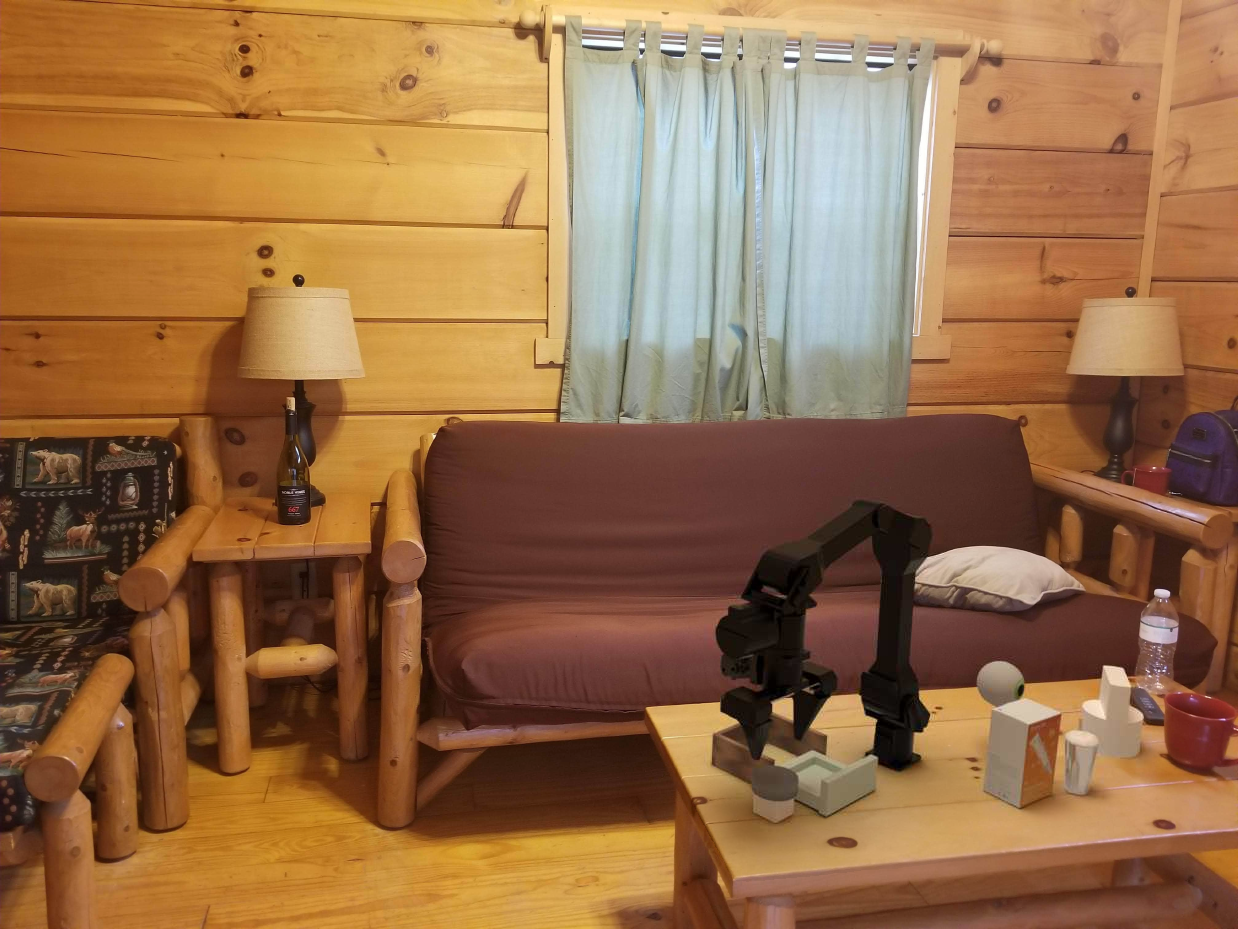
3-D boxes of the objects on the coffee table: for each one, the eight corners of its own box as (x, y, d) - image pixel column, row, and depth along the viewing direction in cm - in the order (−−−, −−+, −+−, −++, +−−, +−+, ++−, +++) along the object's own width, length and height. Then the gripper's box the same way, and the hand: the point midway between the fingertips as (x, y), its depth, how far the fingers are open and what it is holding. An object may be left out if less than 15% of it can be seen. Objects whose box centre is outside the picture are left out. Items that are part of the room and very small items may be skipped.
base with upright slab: (1143, 762, 157) (1152, 690, 155) (1081, 752, 160) (1089, 682, 158) (1134, 738, 166) (1143, 670, 163) (1075, 729, 168) (1083, 662, 166)
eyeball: (1003, 766, 155) (1012, 674, 152) (962, 749, 160) (970, 661, 157) (1025, 752, 159) (1035, 664, 157) (984, 737, 165) (992, 651, 162)
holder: (711, 764, 153) (712, 733, 152) (767, 739, 162) (769, 710, 161) (769, 793, 145) (771, 761, 144) (825, 765, 153) (827, 735, 152)
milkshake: (1090, 783, 150) (1097, 721, 148) (1094, 800, 145) (1102, 736, 143) (1057, 778, 151) (1064, 716, 150) (1060, 794, 146) (1067, 730, 145)
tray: (763, 785, 146) (765, 753, 145) (813, 761, 154) (815, 731, 153) (826, 816, 138) (828, 783, 137) (875, 789, 146) (878, 757, 145)
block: (771, 802, 142) (772, 779, 141) (793, 813, 139) (794, 790, 138) (752, 811, 139) (754, 788, 139) (775, 823, 136) (776, 800, 136)
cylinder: (771, 774, 143) (772, 761, 143) (807, 791, 138) (808, 778, 138) (741, 788, 139) (742, 774, 138) (777, 806, 134) (778, 792, 134)
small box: (1019, 810, 142) (1028, 724, 139) (982, 790, 147) (990, 708, 145) (1053, 795, 146) (1063, 712, 144) (1015, 777, 151) (1024, 696, 149)
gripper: (780, 612, 147) (774, 712, 150) (692, 641, 134) (688, 748, 137) (842, 633, 139) (836, 737, 142) (755, 665, 126) (749, 779, 129)
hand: (777, 749), depth 138 cm, fingers open, 9 cm apart
